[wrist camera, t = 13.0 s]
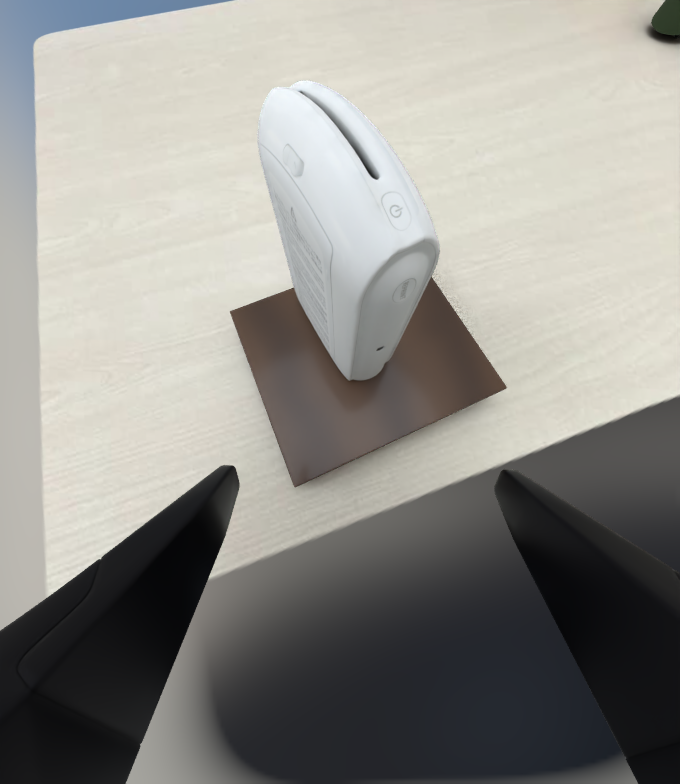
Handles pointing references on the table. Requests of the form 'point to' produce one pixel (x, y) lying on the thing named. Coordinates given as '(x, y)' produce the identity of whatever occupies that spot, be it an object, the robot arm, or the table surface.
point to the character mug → (668, 18)
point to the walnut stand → (358, 381)
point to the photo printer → (345, 223)
